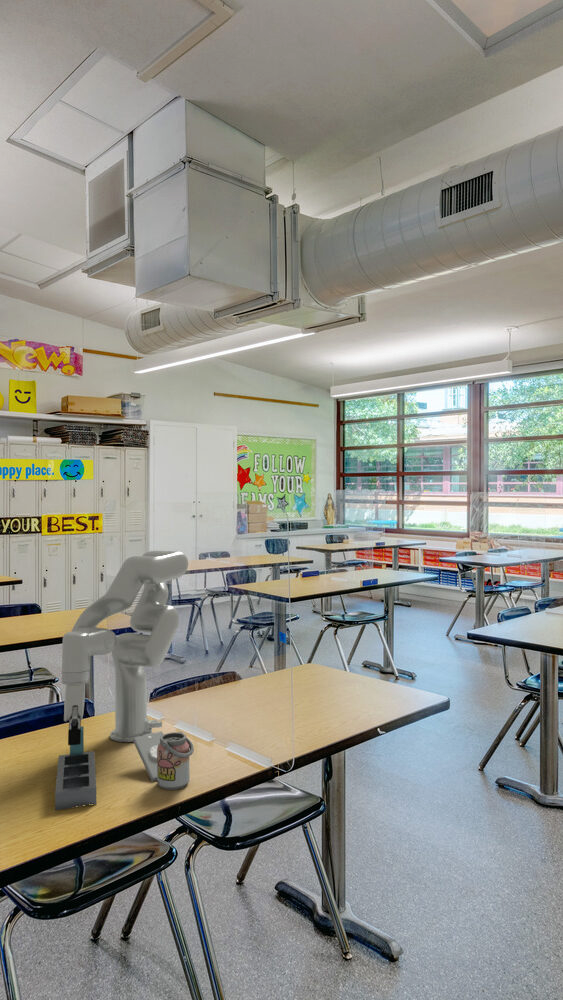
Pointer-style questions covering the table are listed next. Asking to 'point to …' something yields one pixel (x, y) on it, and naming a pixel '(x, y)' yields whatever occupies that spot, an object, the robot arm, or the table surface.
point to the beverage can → (173, 760)
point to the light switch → (149, 752)
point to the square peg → (80, 747)
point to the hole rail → (75, 780)
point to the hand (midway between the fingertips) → (74, 738)
